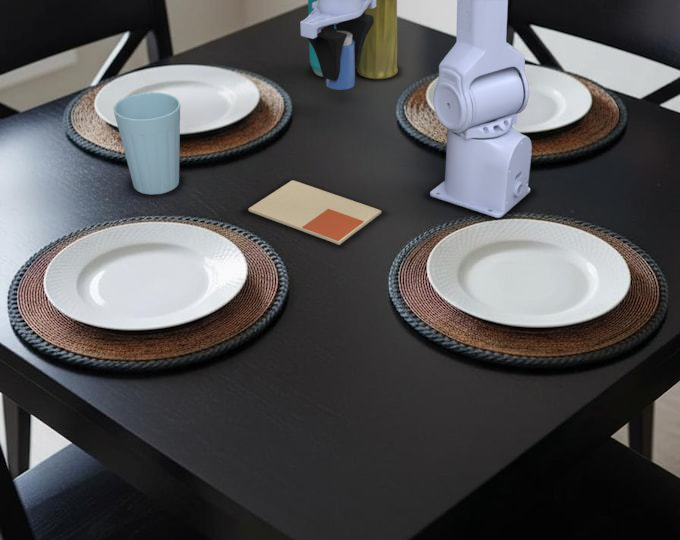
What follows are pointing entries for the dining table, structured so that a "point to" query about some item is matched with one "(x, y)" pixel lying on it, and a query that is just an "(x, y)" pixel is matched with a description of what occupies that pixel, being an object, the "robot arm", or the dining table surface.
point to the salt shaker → (345, 66)
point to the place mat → (315, 211)
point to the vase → (380, 43)
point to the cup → (150, 140)
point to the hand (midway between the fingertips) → (340, 72)
